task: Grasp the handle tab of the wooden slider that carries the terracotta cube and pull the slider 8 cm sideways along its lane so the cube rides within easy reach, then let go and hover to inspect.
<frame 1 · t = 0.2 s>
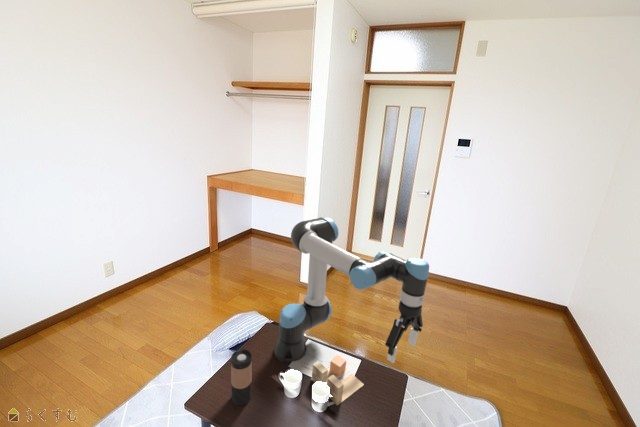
hand: (401, 352, 110), 28 cm above the table, fingers open, 13 cm apart
wooden slider: (330, 368, 130), point 5 cm above the table, slide at 0.3 cm, touching cube
cube: (337, 369, 134), point 1 cm above the table, touching wooden slider
wooden l-shaped block: (345, 382, 123), point 5 cm above the table, slide at 0.3 cm
travel mug: (241, 398, 118), on the table
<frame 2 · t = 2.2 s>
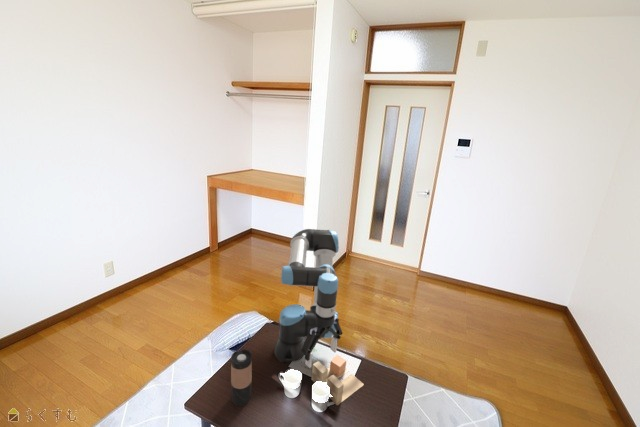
hand: (321, 357, 122), 14 cm above the table, fingers open, 13 cm apart
nothing on the table moved.
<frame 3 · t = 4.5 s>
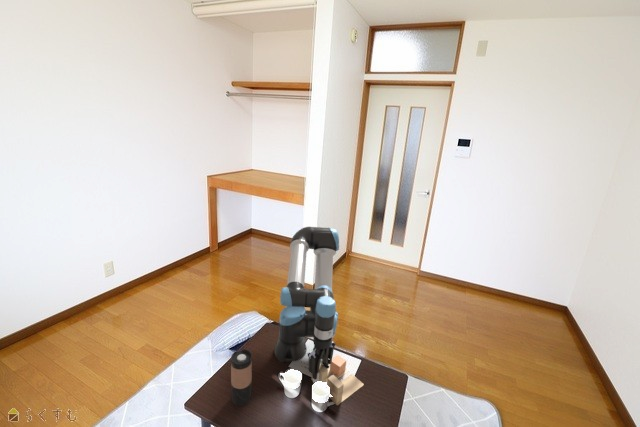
hand: (319, 381, 126), 2 cm above the table, fingers closed on wooden slider, 3 cm apart
wooden slider: (330, 368, 130), point 5 cm above the table, slide at 0.3 cm, touching cube, gripper
everything else where it was.
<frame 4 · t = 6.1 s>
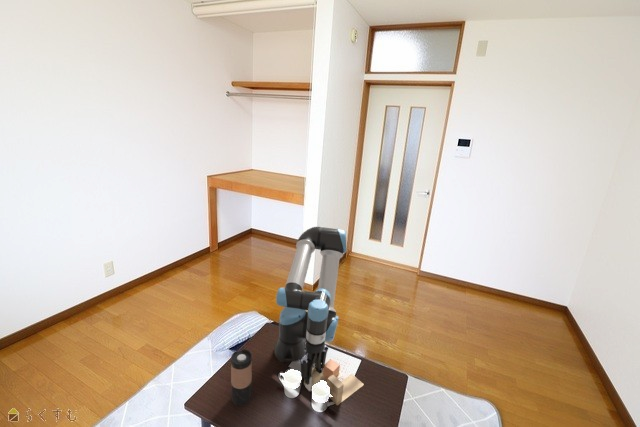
hand: (311, 386, 124), 2 cm above the table, fingers closed on wooden slider, 3 cm apart
wooden slider: (323, 373, 127), point 5 cm above the table, slide at 4.4 cm, touching cube, gripper
cube: (330, 374, 131), point 1 cm above the table, touching wooden slider
everything else where it was.
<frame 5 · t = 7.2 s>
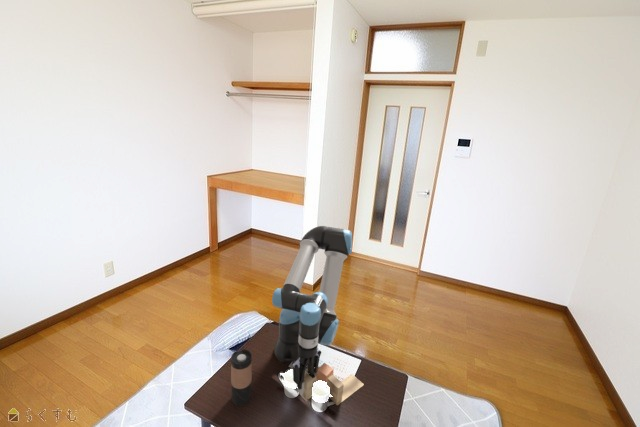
hand: (304, 391, 121), 2 cm above the table, fingers closed on wooden slider, 3 cm apart
wooden slider: (317, 377, 125), point 5 cm above the table, slide at 8.1 cm, touching cube, gripper
cube: (324, 378, 128), point 1 cm above the table, touching wooden slider
everything else where it was.
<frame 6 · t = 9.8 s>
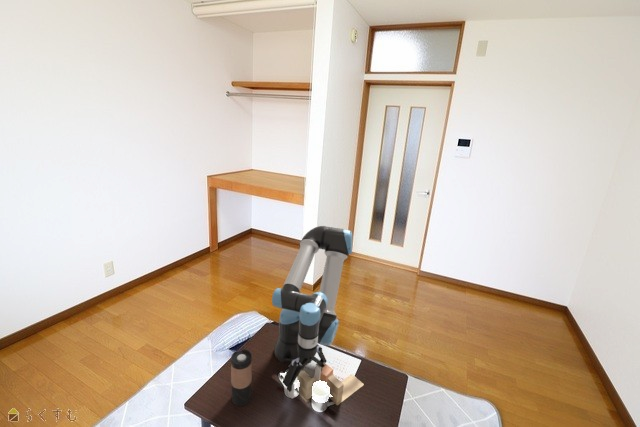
hand: (304, 386, 120), 4 cm above the table, fingers open, 13 cm apart
wooden slider: (316, 377, 124), point 5 cm above the table, slide at 8.3 cm, touching cube
everything else where it was.
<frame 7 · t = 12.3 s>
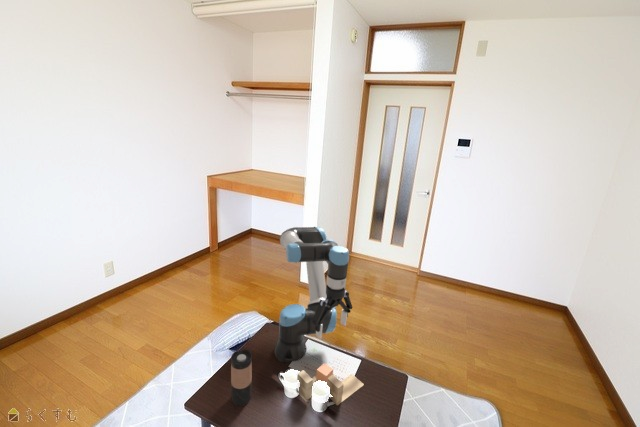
hand: (331, 330, 124), 24 cm above the table, fingers open, 13 cm apart
nothing on the table moved.
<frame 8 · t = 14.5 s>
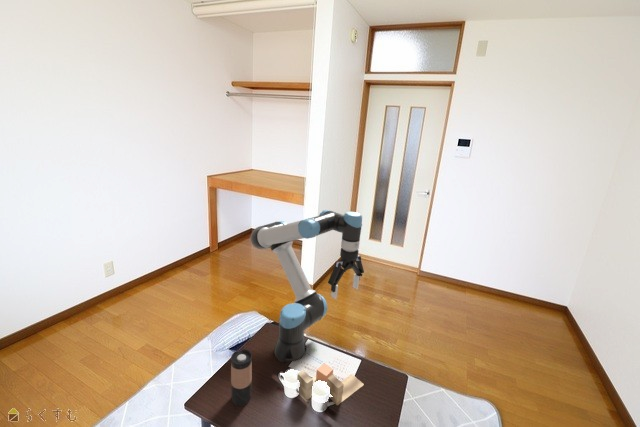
hand: (344, 292, 133), 35 cm above the table, fingers open, 13 cm apart
nothing on the table moved.
at the end: wooden slider slide at 8.3 cm; cube inside the target area (0.3 cm from its centre), point 1.5 cm above the table; cube tilted 0° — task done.
